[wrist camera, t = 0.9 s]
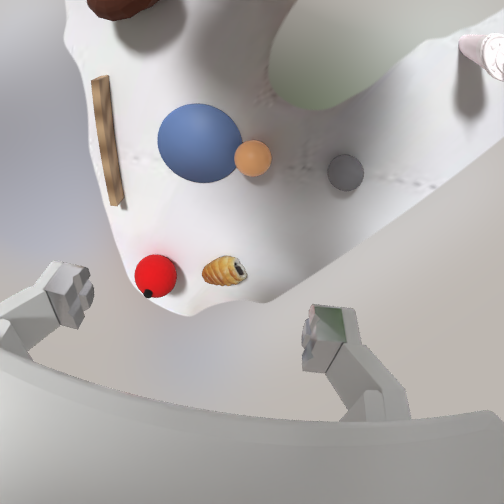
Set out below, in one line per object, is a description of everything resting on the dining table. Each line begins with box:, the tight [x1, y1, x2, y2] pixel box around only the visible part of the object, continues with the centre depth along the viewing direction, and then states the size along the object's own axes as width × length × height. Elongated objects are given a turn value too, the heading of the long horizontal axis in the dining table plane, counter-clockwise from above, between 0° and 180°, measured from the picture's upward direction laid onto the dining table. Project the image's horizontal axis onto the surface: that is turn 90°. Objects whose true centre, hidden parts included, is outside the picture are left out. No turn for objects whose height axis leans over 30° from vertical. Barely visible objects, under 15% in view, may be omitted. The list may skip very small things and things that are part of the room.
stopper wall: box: [91, 75, 124, 206], centre depth 48 cm, size 24×2×3 cm, turn 175°
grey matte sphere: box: [328, 155, 364, 191], centre depth 45 cm, size 6×6×6 cm
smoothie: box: [459, 33, 504, 81], centre depth 24 cm, size 6×6×14 cm
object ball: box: [234, 140, 272, 177], centre depth 46 cm, size 6×6×6 cm
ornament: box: [135, 255, 177, 298], centre depth 64 cm, size 9×9×10 cm
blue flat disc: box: [158, 104, 242, 183], centre depth 48 cm, size 14×14×1 cm
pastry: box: [202, 256, 247, 286], centre depth 66 cm, size 9×7×4 cm
